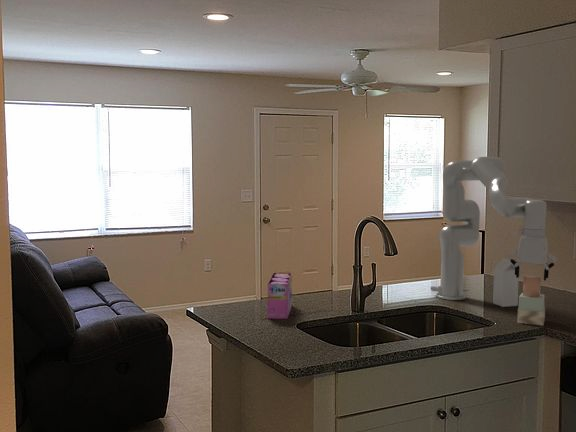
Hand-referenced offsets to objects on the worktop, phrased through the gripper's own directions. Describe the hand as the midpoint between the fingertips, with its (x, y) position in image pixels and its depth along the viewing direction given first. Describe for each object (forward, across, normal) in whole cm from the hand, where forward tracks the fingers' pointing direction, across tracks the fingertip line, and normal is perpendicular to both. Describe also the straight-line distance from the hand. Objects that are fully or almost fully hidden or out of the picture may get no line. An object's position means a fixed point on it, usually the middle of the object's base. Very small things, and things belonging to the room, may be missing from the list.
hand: (531, 278), depth 246 cm
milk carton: (+17, -11, +23) cm, 31 cm away
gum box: (+18, -90, -28) cm, 96 cm away
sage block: (+11, +1, -1) cm, 11 cm away
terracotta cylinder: (+6, 0, -1) cm, 6 cm away
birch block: (+16, +1, -1) cm, 16 cm away
